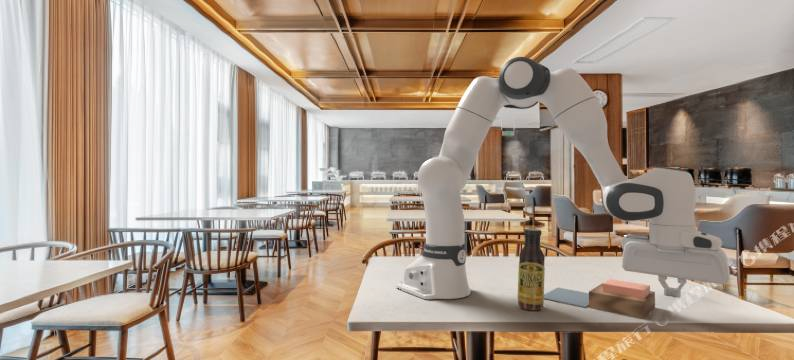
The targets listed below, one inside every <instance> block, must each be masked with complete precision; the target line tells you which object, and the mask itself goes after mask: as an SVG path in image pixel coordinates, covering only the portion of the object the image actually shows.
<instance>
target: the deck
mask: <svg viewBox="0 0 794 360" xmlns="http://www.w3.org/2000/svg"><path fill="white" fill-rule="evenodd" d="M603 283H604V282H602V283H601V284H599V285H597V286H596V287H594V288H592V289H590V290H589V291H588V293H589V306H588V307H589V308H590V309H595V310H599V311H604V312H609V313H613V314H619V315H623V316H628V317H632V318H638V319H643V320H645V319H646V318H648V316H649V315H650V314H651V313H652V312H653V311H654V310H655V309H656V295H655V294H656V292H655V291H652V290H650V294H649V295H648V296H647V297H646V298H645V299H642V298H637V297H631V296H625V295H620V294H614V293H608V292H603Z"/></svg>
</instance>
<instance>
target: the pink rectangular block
mask: <svg viewBox="0 0 794 360" xmlns="http://www.w3.org/2000/svg"><path fill="white" fill-rule="evenodd" d="M602 283H603V292H608V293H614V294H620V295H625V296H631V297H637V298H642V299H645V298H646V297H647V296H648V295H649V294H650V291H651V285H650V284H644V283H637V282H629V281H624V280H619V279H611V278H609V279H608V280H606V281H604V282H602Z"/></svg>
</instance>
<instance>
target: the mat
mask: <svg viewBox="0 0 794 360" xmlns="http://www.w3.org/2000/svg"><path fill="white" fill-rule="evenodd" d="M544 300H545V301H546V300H547V301H551V302H556V303H559V304H560V303H561V304H565V305H570V306H575V307H580V308H584V309H587V308H588V307H589V292H584V291H579V290H574V289H573V290H572V289H569V288H563V287H556V288H554V289H552V290H550V291H548V292H546V293H544Z"/></svg>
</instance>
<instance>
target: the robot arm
mask: <svg viewBox="0 0 794 360" xmlns="http://www.w3.org/2000/svg"><path fill="white" fill-rule="evenodd" d="M538 103H540V104H543V106H545V107H546V108H547V110H548V111H549V114H550V115H551V118H552V120H553V121H554V122H555V124H556V126H557V127H558V129H559V130H560V131H561V133H562V134H563V135H564V137H565V138H566V140H568V142H570V144H572V145H573V147H574V148H575V149H576V150H577V151H578V152H579V153H580V154H581V155H582V156H583V158H584V160H586V162H587V164H588V165H589V168H590V169H591V171H592V173H593V175H594V177H595V179H596V180H597V182H598V184H599V186H600V193H601V195H600V197H601V204H602V207H603V209H604V210H605V212H606V213H607V214H608V215H609V216H611V217H612V218H615V219H617V220H620V221H623V222H629V223H630V222H637V221H641V220H648V234H644V233H643V234H641V233H640V234H639V233H628V234H626V235H623V237H622V238H621V242H620V243H621V248H622V249H623V252H622V257H621V267H622V269H623V270H624V271H625V272H632V273H639V274H646V275H652V276H653V275H654V276H657V277H658V279H657V280H658V282H659V283H660V286H662V288H663V295H664V296H667V297H671V298H672V297H673V298H677V299H678V298H679V299H680V298H681V296H682V295H681V294H682V293H681V290H682V289H683V287H685V285H686V284H687V280H688V281H696V282H702V283H703V282H704V283H711V284H718V285H726V284H727V283H729V282H730V280H731V273H730V265H729V260H728V257H727V255H726V253H725V250H723V249H722V248H721V247H722V245H723V241H722V239H721V238H720V237H718V236H716V235H712V234H709V233H706V232H702V231H699V230H697V229H696V227H697V226H696V220H695V217H694V216H695V215H694V211H695V209H696V204H697V203H696V192H695V191H696V189H695V183H694V179H693V177H692V174H691V173H689V171H688V170H686V169H682V168H677V167H669V166H655V167H652V168H651V169H650V170H649V171H647V172H645V173H642V174H640V175H638V176H636V177H634V178H630V179H629V178H628V177H627V176H626V175H625V174H624V171H623V170H622V168H621V166H620V164H619V163H618V161H617V159H616V157H615V156H614V154H613V152H612V150H611V148H610V144H609V140H608V122H607V118H606V115H605V112H604V109H603V107H602V104H601V103H600V101H599V99H598V97H597V96H596V94H595V92H594V90H593V89H592V88H591V87H590V85H589V84H588V82H587V81H586V80H585V79H584V78H583V77H582V76H581V74H580V73H579V72H578V71H577V70H575V69H573V68H571V67H564V68H559V69H557V70H555V71H552V72H551V71H550V68H548V67H547V66H545V65H543V64H541V63H538V62H537V61H536V60H534V59H532V58H529V57H527V56H516V57H513V58H511V59H509V60H508V61H506V62H505V63H504V65H503V66H502V67H501V69H500V71H499V74H498V77H496V78H495V77H494V78H493V77H492V76H486V75H481V76H477V77H475V78H474V79H473V80H472V81H471V83H469V85H468V86H467V88H466V90H465V91H464V93H463V95H461V98H460V100H459V102H458V104H457V106H456V107H455V110H454V112H453V113H452V116H451V119H449V123H448V124H447V126H446V128H445V132H444V134H443V135H444V136H443V141H442V145H441V148H440V151H439V155H438V156H433V157H431V158H429V159H428V160H426V161H425V162H423V163H422V164H421V165H420V168H419V169H418V172H417V180H418V183H419V186H420V188H421V189H420V190H421V197H422V202H423V206H424V207H423V208H424V214H425V243H423V244H419V245H418V247H419V248H418V250H421V254H420V256H418V257H417V258H416V259H415V260H413V261H412V262H411V263H409V264H408V265H407V266H406V267H405V269H404V274H403V275H404V276H403V280H401V281H399V282H398V283H396V286H395V287H397V288H396V289H398V288H399V289H398V290H400V289H401V291H403V292H406V293H407V294H411V295H412V296H416V297H418V298H419V299H423V300H437V299H439V300H453V299H462V298H465V297H468V296H470V294H471V293H472V292H471V288H470V285H469V281H468V275H467V269H466V261H467V246H466V245H467V243H465V215H464V212H463V211H464V210H463V204H462V197H461V191H462V190H464V188H465V187H466V185H467V183H468V181H469V178H470V176H471V173H472V171H473V168H474V165H475V164H476V160H477V157H478V155H479V152H480V149H481V147H482V146H483V143H484V142H485V139H486V137H487V135H488V133H489V131H490V129H491V127H492V125H493V123H494V121H495V119H496V117H497V115H498V114H499V111H500V110H501V109H502V108H503V107H504V108H509V109H518V110H525V109H530V108H533V107H535V106H536V105H538ZM668 278H675V279H677V283H678V284H679V285H678V286H677V287H670V286H669V285H668V283H667V282H666V280H668Z"/></svg>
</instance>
